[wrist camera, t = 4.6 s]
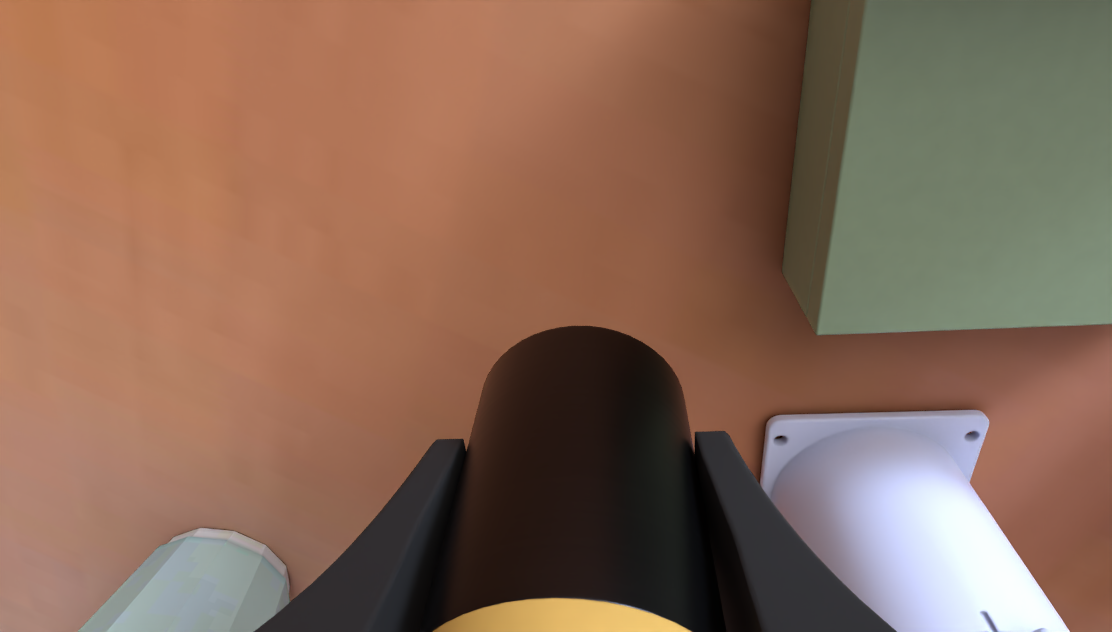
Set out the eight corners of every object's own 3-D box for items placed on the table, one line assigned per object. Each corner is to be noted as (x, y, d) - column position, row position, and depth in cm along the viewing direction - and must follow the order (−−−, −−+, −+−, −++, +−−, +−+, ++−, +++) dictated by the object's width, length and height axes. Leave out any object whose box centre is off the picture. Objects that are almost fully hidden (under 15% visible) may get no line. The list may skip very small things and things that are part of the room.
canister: (687, 484, 17) (748, 864, 10) (493, 488, 17) (422, 852, 10) (690, 315, 14) (775, 672, 7) (461, 325, 15) (338, 669, 8)
